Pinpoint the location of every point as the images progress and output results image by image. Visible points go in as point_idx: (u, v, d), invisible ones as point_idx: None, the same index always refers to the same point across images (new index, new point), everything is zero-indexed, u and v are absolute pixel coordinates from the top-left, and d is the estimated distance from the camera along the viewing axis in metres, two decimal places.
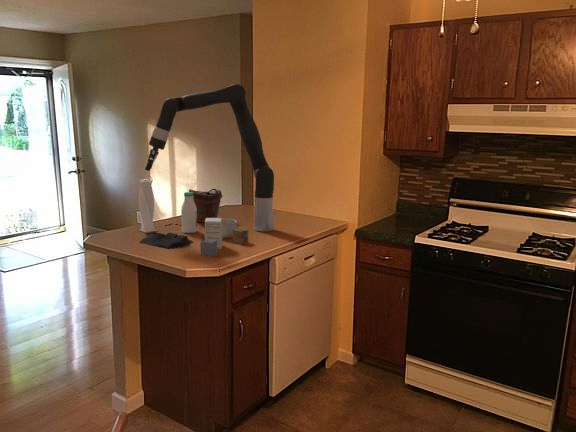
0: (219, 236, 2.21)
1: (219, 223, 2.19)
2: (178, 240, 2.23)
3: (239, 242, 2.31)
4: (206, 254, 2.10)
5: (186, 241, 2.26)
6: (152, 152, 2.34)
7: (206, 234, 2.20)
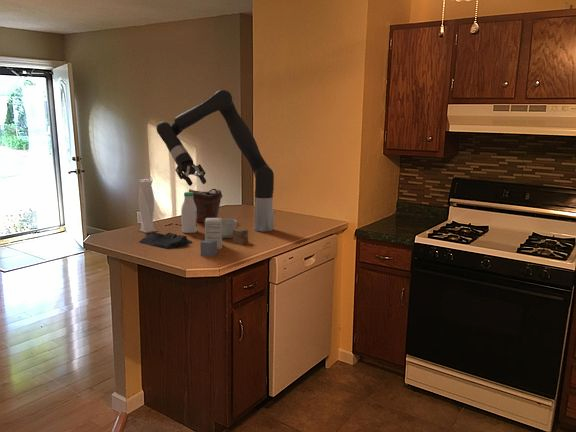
0: (219, 236, 2.21)
1: (219, 223, 2.19)
2: (177, 240, 2.23)
3: (239, 242, 2.31)
4: (206, 254, 2.10)
5: (185, 241, 2.26)
6: (176, 170, 2.29)
7: (206, 234, 2.20)
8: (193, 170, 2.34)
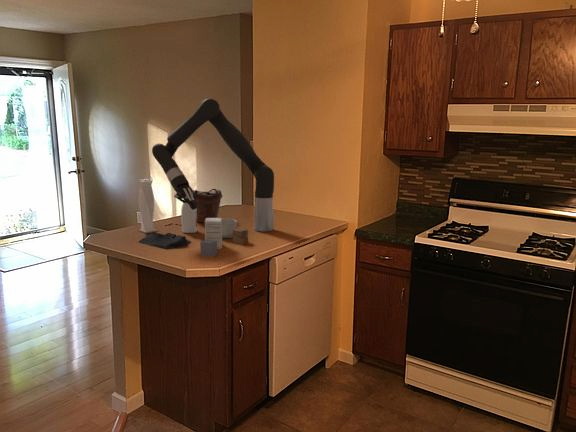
0: (219, 236, 2.21)
1: (219, 223, 2.19)
2: (176, 240, 2.23)
3: (239, 242, 2.31)
4: (206, 254, 2.10)
5: (184, 241, 2.26)
6: (176, 197, 2.28)
7: (206, 234, 2.20)
8: None
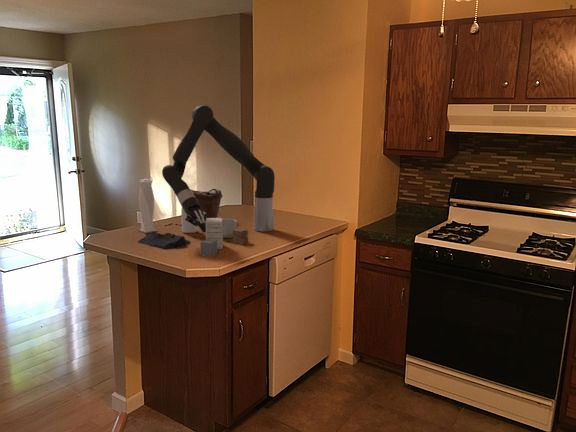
0: (220, 236, 2.20)
1: (220, 223, 2.19)
2: (175, 240, 2.22)
3: (239, 242, 2.31)
4: (206, 254, 2.10)
5: (183, 241, 2.25)
6: (187, 219, 2.25)
7: (207, 234, 2.19)
8: None
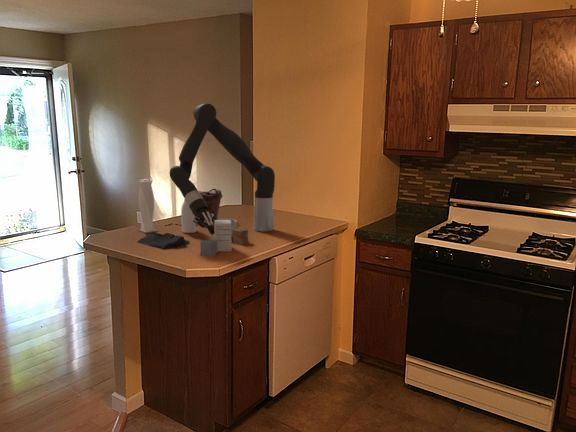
0: (229, 238, 2.17)
1: (229, 225, 2.16)
2: (174, 241, 2.22)
3: (239, 242, 2.31)
4: (206, 254, 2.10)
5: (182, 242, 2.25)
6: (195, 221, 2.21)
7: (216, 236, 2.16)
8: None
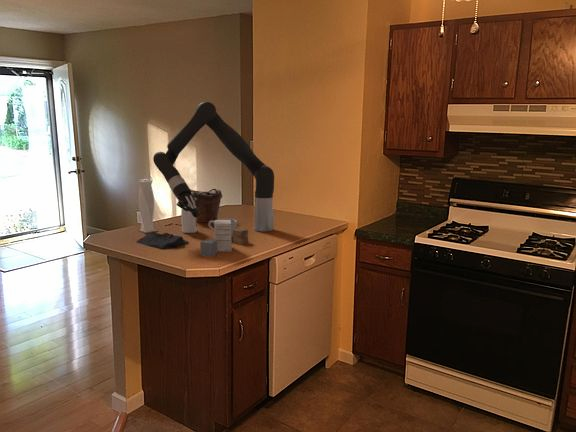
0: (229, 238, 2.17)
1: (229, 225, 2.16)
2: (173, 241, 2.22)
3: (239, 242, 2.31)
4: (206, 254, 2.10)
5: (181, 242, 2.25)
6: (179, 205, 2.28)
7: (216, 236, 2.16)
8: None
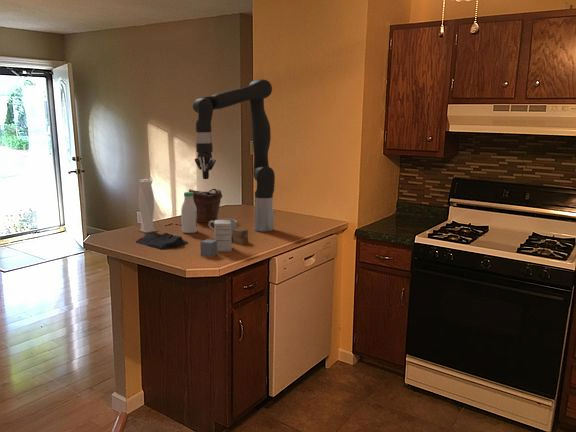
0: (229, 238, 2.17)
1: (229, 225, 2.16)
2: (172, 241, 2.22)
3: (239, 242, 2.31)
4: (206, 254, 2.10)
5: (180, 242, 2.25)
6: (212, 163, 2.31)
7: (216, 236, 2.16)
8: None
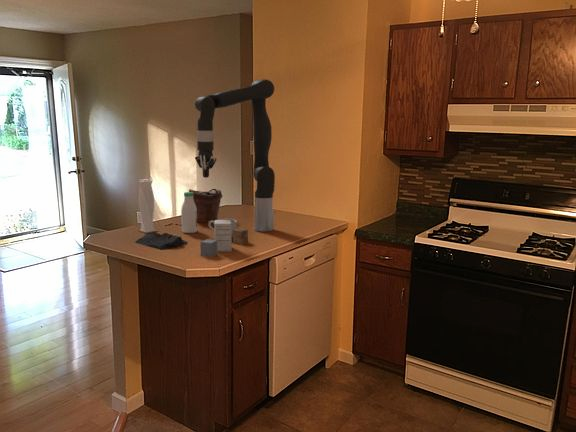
0: (229, 238, 2.17)
1: (229, 225, 2.16)
2: (171, 241, 2.22)
3: (239, 242, 2.31)
4: (206, 254, 2.10)
5: (180, 242, 2.24)
6: (213, 161, 2.31)
7: (216, 236, 2.16)
8: None
